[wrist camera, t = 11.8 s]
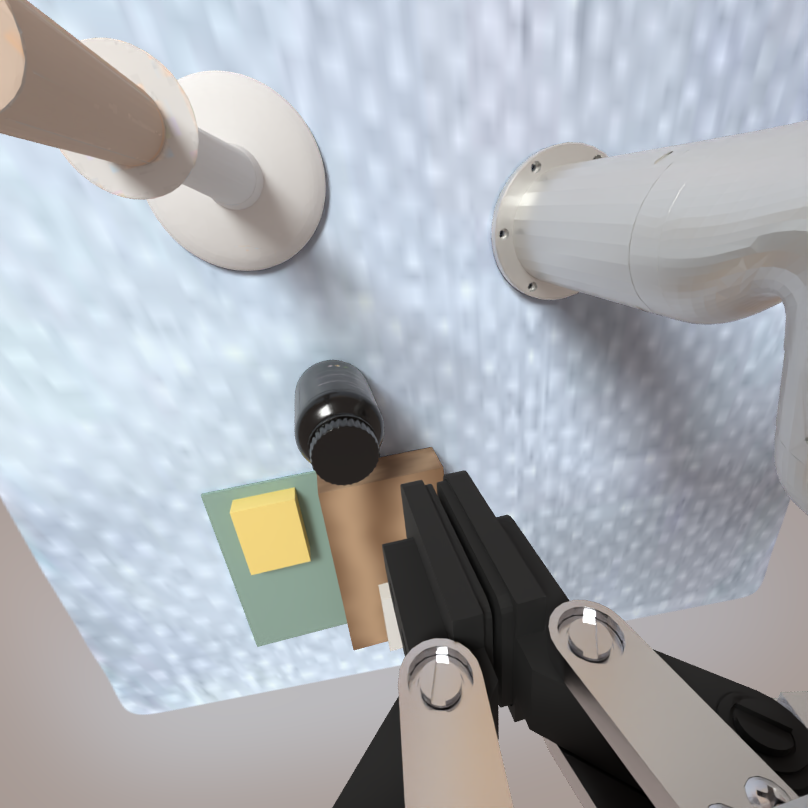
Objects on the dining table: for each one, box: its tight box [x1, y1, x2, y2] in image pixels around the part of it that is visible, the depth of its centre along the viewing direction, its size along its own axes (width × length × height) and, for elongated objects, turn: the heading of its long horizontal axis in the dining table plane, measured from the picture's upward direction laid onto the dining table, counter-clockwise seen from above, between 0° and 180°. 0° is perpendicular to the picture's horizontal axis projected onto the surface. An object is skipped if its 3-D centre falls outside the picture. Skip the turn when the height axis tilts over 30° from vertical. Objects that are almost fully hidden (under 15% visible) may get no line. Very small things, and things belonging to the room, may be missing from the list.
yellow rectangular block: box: [230, 487, 311, 575], centre depth 43 cm, size 6×8×2 cm
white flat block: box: [378, 583, 403, 651], centre depth 47 cm, size 6×8×2 cm
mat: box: [201, 471, 347, 647], centre depth 47 cm, size 12×22×1 cm, turn 6°
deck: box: [317, 447, 444, 650], centre depth 47 cm, size 12×22×4 cm, turn 6°
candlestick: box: [0, 0, 326, 271], centre depth 18 cm, size 13×13×30 cm
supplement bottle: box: [295, 360, 384, 486], centre depth 35 cm, size 7×7×12 cm
